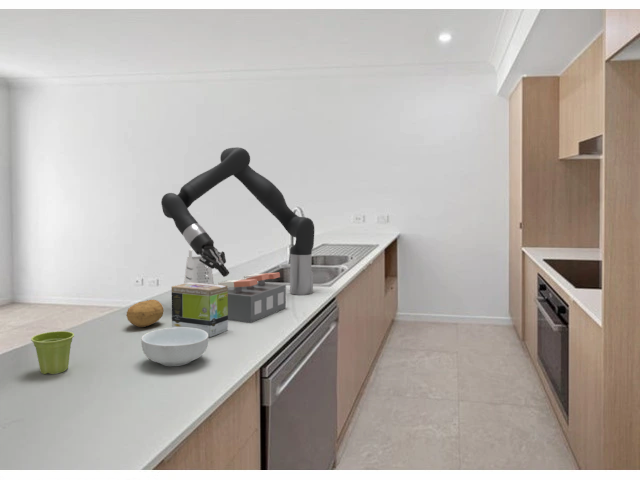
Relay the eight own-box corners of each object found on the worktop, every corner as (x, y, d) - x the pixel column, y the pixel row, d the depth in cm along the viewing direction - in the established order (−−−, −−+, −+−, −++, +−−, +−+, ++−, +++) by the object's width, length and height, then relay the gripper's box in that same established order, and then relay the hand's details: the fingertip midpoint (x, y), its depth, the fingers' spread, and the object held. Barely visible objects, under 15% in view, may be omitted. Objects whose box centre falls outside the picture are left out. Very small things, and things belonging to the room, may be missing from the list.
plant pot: (41, 380, 124) (40, 344, 124) (26, 370, 131) (25, 336, 130) (81, 370, 131) (80, 336, 131) (65, 361, 138) (64, 329, 137)
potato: (117, 329, 169) (117, 304, 168) (146, 319, 182) (146, 296, 182) (142, 333, 166) (142, 307, 165) (170, 322, 179) (170, 299, 178)
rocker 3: (250, 279, 206) (250, 274, 206) (280, 276, 201) (279, 272, 201) (244, 281, 202) (243, 276, 202) (273, 278, 196) (273, 274, 196)
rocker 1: (226, 285, 191) (226, 280, 191) (257, 284, 186) (256, 278, 186) (218, 287, 187) (218, 282, 187) (250, 286, 182) (249, 281, 181)
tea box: (228, 330, 171) (228, 284, 169) (209, 338, 161) (209, 290, 160) (191, 324, 177) (190, 280, 175) (170, 331, 168) (170, 285, 166)
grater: (215, 295, 226) (215, 248, 224) (191, 297, 220) (191, 249, 218) (205, 291, 234) (205, 245, 232) (182, 293, 228) (182, 247, 227)
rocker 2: (239, 284, 199) (238, 279, 199) (269, 278, 193) (268, 273, 193) (232, 286, 194) (231, 281, 194) (262, 280, 189) (261, 275, 189)
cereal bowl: (127, 367, 135) (126, 339, 134) (168, 349, 150) (168, 324, 149) (184, 376, 128) (183, 347, 128) (220, 356, 144) (220, 331, 143)
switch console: (257, 301, 215) (257, 275, 214) (293, 305, 208) (293, 278, 207) (211, 317, 187) (211, 287, 186) (251, 322, 180) (251, 291, 179)
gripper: (192, 233, 185) (222, 270, 181) (215, 230, 197) (243, 265, 193) (180, 247, 187) (209, 284, 183) (203, 244, 199) (231, 279, 195)
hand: (226, 275), depth 188 cm, fingers closed
